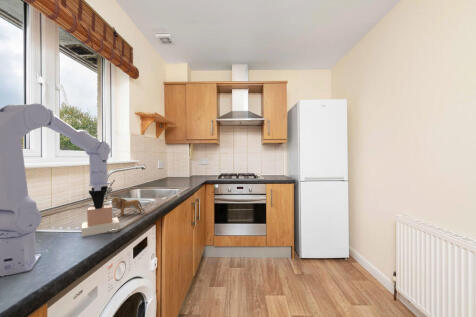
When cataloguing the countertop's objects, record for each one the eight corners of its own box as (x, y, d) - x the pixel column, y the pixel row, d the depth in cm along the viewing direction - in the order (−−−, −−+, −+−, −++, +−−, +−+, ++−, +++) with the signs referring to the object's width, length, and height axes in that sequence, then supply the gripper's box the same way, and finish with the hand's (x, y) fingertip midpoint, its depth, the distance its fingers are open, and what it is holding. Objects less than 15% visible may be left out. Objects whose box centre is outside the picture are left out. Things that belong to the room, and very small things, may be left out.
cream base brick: (119, 231, 83) (119, 222, 83) (81, 238, 77) (81, 228, 77) (117, 225, 90) (117, 217, 90) (82, 231, 83) (82, 222, 83)
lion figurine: (111, 217, 100) (111, 198, 100) (111, 214, 104) (111, 196, 104) (145, 212, 107) (145, 195, 107) (144, 210, 112) (143, 193, 112)
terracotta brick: (112, 222, 83) (112, 207, 83) (87, 226, 79) (87, 210, 79) (112, 219, 87) (112, 204, 87) (88, 222, 83) (88, 207, 83)
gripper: (110, 172, 78) (110, 209, 79) (110, 170, 91) (111, 201, 91) (86, 173, 75) (87, 211, 75) (90, 170, 87) (91, 203, 88)
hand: (99, 206), depth 83 cm, fingers open, 7 cm apart
